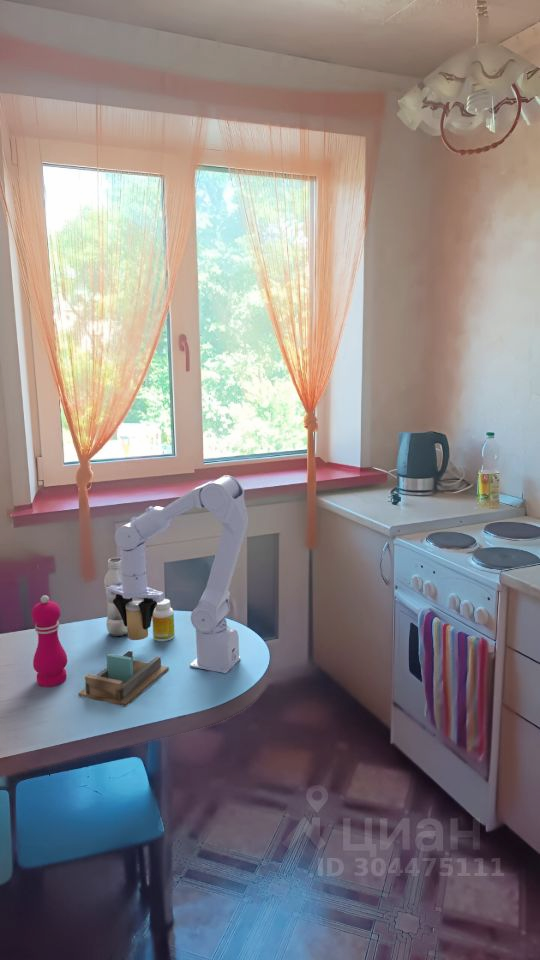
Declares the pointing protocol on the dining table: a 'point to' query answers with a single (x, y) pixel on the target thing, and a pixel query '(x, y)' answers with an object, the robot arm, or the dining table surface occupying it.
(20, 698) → the dining table surface
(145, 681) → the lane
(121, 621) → the plastic bottle
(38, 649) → the pepper mill
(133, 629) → the jar
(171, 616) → the supplement bottle
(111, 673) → the pusher
